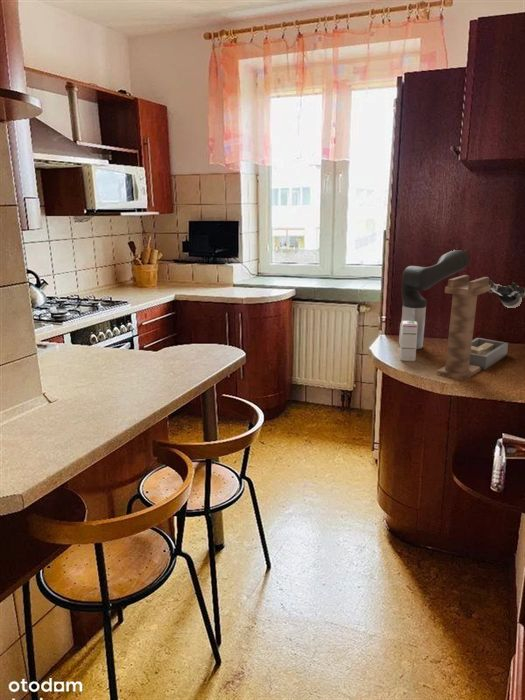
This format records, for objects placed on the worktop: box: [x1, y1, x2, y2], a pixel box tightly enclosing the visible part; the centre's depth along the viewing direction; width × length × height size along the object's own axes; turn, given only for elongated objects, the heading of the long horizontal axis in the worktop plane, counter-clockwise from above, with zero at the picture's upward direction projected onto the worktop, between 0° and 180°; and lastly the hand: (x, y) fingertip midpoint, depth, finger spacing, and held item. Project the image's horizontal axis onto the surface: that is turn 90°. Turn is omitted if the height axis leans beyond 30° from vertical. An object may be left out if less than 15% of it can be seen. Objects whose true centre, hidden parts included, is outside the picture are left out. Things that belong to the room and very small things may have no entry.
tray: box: [469, 337, 509, 371], centre depth 194 cm, size 12×24×5 cm, turn 138°
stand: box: [436, 274, 491, 381], centre depth 175 cm, size 10×14×34 cm
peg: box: [471, 343, 494, 355], centre depth 195 cm, size 4×18×4 cm, turn 138°
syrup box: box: [399, 320, 418, 362], centre depth 194 cm, size 6×6×14 cm
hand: (500, 283), depth 196 cm, fingers open, 8 cm apart
